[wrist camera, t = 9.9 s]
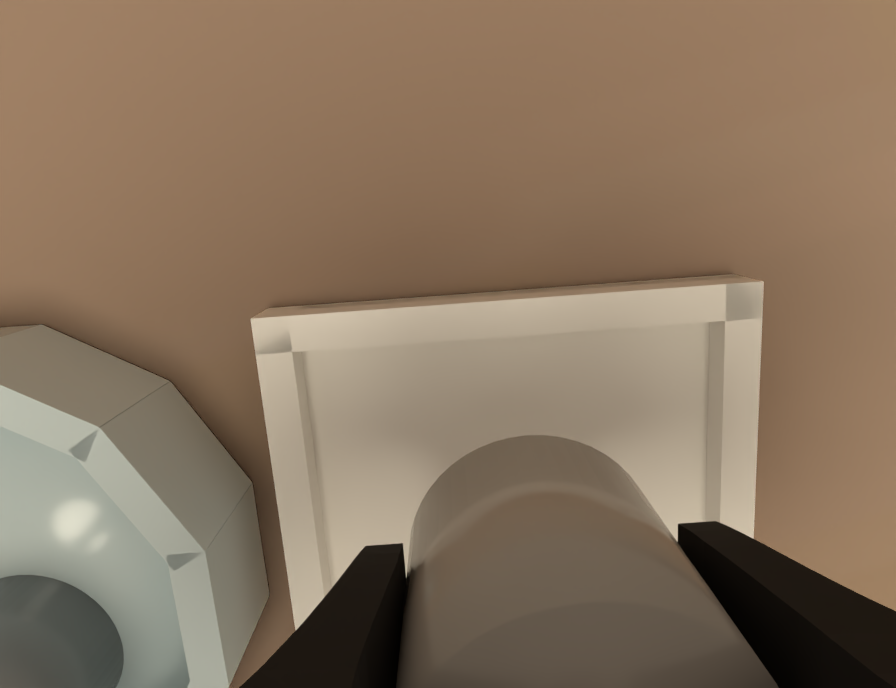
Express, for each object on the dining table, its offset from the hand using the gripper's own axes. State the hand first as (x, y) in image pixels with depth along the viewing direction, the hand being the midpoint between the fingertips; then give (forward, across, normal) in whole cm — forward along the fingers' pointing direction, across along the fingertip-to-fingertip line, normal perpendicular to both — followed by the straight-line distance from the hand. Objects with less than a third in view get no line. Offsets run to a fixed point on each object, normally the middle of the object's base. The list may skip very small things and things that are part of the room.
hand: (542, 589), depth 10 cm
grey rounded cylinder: (+1, 0, 0) cm, 1 cm away
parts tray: (+6, 0, +3) cm, 7 cm away
